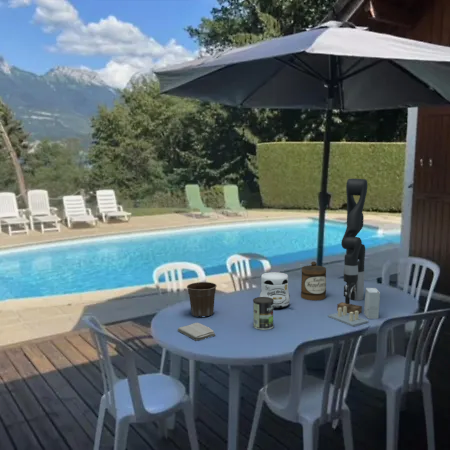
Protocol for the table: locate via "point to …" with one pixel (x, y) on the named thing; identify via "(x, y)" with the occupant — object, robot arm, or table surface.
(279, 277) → the milk container
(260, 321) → the coffee can
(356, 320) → the peg stand
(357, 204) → the robot arm
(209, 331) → the washcloth
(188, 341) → the table surface
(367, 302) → the skincare box
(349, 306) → the plank
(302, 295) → the wooden container
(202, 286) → the plant pot
